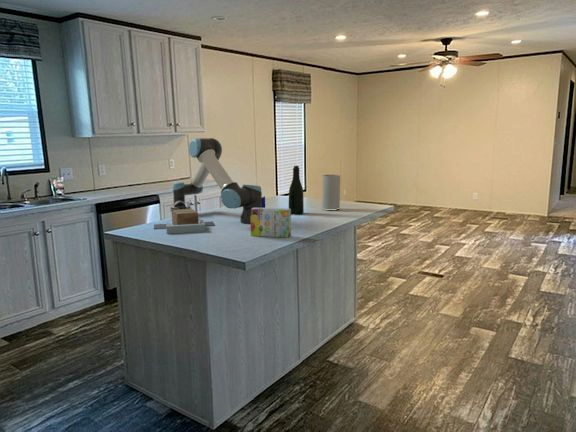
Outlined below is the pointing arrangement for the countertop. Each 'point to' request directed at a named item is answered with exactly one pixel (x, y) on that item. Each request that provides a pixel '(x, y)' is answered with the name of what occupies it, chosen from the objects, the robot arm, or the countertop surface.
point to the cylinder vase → (331, 192)
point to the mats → (163, 226)
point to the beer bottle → (296, 193)
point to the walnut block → (184, 217)
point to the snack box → (271, 222)
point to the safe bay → (185, 228)
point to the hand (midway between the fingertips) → (181, 213)
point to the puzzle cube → (263, 201)
